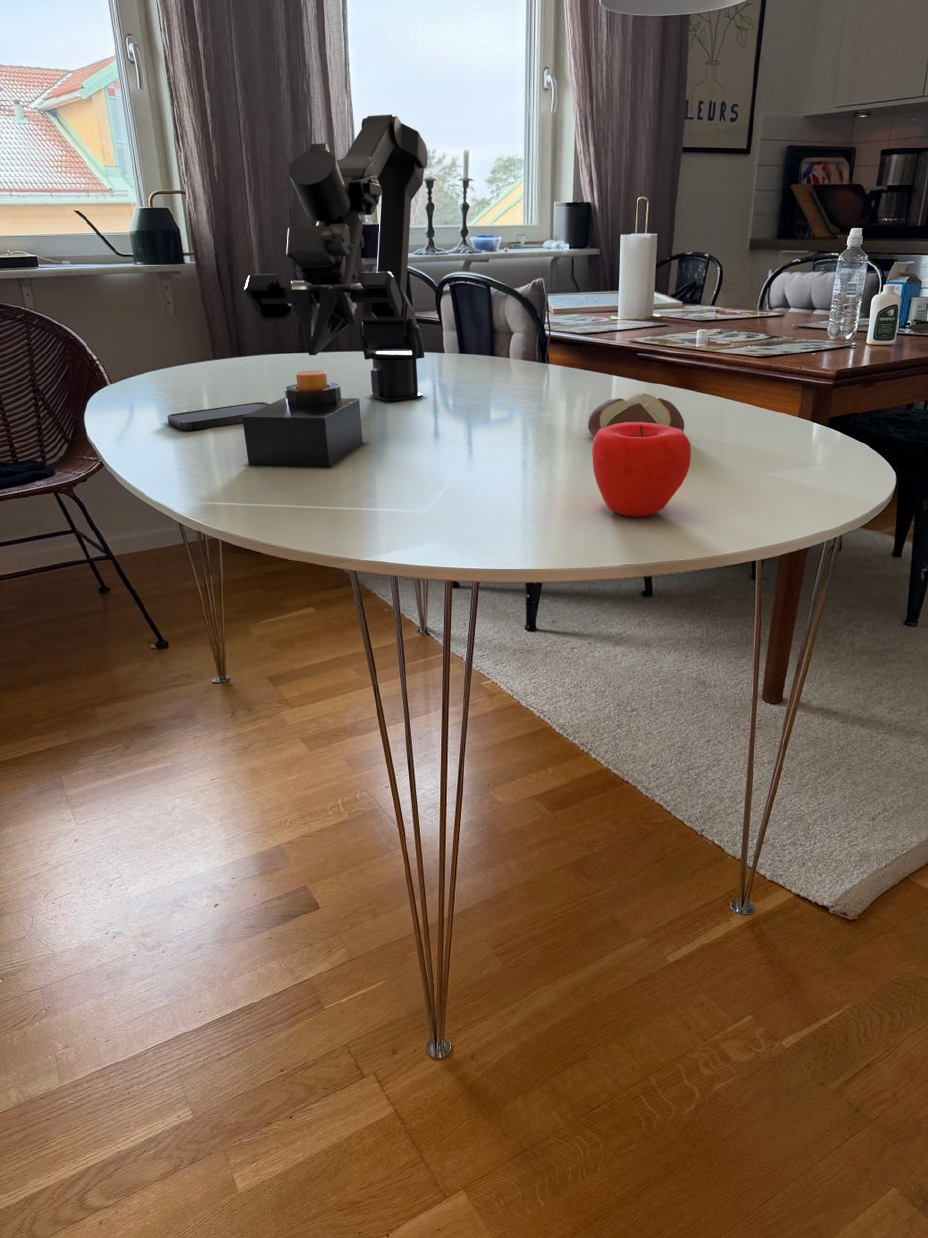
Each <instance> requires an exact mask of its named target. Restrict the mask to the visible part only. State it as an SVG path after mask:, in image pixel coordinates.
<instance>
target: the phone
mask: <svg viewBox="0 0 928 1238" xmlns="http://www.w3.org/2000/svg"><path fill="white" fill-rule="evenodd" d="M269 404H270V403H268V402H266V401H257V402H256V401H255V402H249V403H248V402H247V403H242V404H233V405H228V406H220V407H213V408H205V409H198V410H190V411H185V412H184V411H183V412H176V413H171V414H168V415H167V416H166V417H167V423H168V425H171V426H172V427H175V428H177V429H179V430H181V431H194V430H199V429H207V428H214V427H220V426H221V427H222V426H227V425H233V424H241V423H243V419H242V417H243V416H245V415H247V414H250V413H252V412H254V411H256V410H258V409H261V408H263V407H265V406H267V405H269Z"/></svg>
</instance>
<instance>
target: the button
mask: <svg viewBox="0 0 928 1238" xmlns="http://www.w3.org/2000/svg"><path fill="white" fill-rule="evenodd" d="M295 378H296V384H297V388H298V389H300V390H313V389H323V388H327V382H328V379H327V378H328V377H327V371H324V370H305V371H299V372H296V373H295Z"/></svg>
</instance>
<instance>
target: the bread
mask: <svg viewBox="0 0 928 1238" xmlns="http://www.w3.org/2000/svg"><path fill="white" fill-rule="evenodd" d="M625 422H646V423H656V424H661V425H667V426H670V427H674V428H677V429H681V430H682V431H683V432H684V431H685V421H684V418H683V416H682V414H681V412H680V411H679V409H678V408H677V407H676V406H675V405H674V403H672V402H671V401H669V400H667V399H665V398H664V399H663V398H662V397H659V398H657V397H655V395H651V394H649V393H643V392H642V393H634V394H630V395H628V396H626V397H624V398H612V399H608V400H606V401H604V402H603V403H601V404H600V405H598V406H597V407H596V408H594V410H592V412H591V413H590V415H589V418H588V422H587V429H588V431H589V433H590V435H592V436H594V437H595V436H596V434H597V432H598V431H599V429H602V428H605V427H608V426H611V425H614V424H618V423H625Z"/></svg>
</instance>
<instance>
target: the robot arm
mask: <svg viewBox="0 0 928 1238" xmlns="http://www.w3.org/2000/svg"><path fill="white" fill-rule="evenodd" d="M428 162H429V161H428V149H427V144H426V142H425V140H424V139H423V137H422V135H421V134H420V132H419V131H418V130H416V129H415V128H412V127H410V126H408V125H406V124H404V123H403V122H402V121H401V120H400V118H399V116H397V115H396V116H395V115H394V114H379V115H378V114H376V115H367V117H364V118H362V121H361V129H360V130H359V132H358V134H357V136H356V137H355V139H354V140H353V143H351V146H350V148H349V149H348V150H347V152H346V154H345V156H343V157H342V158H340V159H336V157H335V156H334V154H333V153H331V151H330V149H329V146H328V144H327V143H326V142H324V143H323V142H322V143H311V144H310V147H309V150H306V151H305V152H302V153H301V154H299V155H298V156H297V157H295V158H294V160H293V161H292V162H290V163H289V166H288V175H289V178H290V180H291V183H292V185H293V187H294V189H295V193H296V194H297V197H298V199H299V202H300V203H301V206H302V208H303V210H304V213H305V215H306V217H307V219H309V220H313V221H315V222H316V225H293V226H292V225H291V226H289V227H288V228H287V238H286V239H287V241H286V257H287V258H288V259H290V260H292V262H294V263H295V264H296V267H295V270H294V272H295V276H297V280H290V285H291V286H286V285H285V282H284V281H283V278H282V277H281V275H280V273H267V274H266V273H264V274H263V273H262V274H261V273H259V274H250V275H248V277H247V279H246V282H245V286H244V290H243V291H244V293H245V294H246V296H247V298H248V300H249V302H250V303H251V305H252V306H253V308H254V310H255V312H256V313H257V315H258V317H259V318H260V319H261V320H263V321H265V322H285V321H287V320H288V319H289V318H291V317H292V315H293V311H294V314H295V315H296V317H297V319H298V321H299V323H300V324H301V325H302V328H303V334H304V340H305V346H306V347H305V348H306V351H307V353H308V356H317V355H318V354H319V353H320V352H321V351H322V350H323V349H324V348H325V347H326V346H327V345H328V344H329V343H330V342H331V341H332V340H333V338H335V337H336V336H337V335H338V334H340V333H341V332H342V331H343V330H344V329H346V328H347V327H348V326H353V325H355V323H356V321H357V319H356V317H355V312H356V310H357V309H358V305H357V304H361V303H362V305H363V306H362V307H363V309H362V317H361V320H360V321H359V322H360V323H359V336H360V341H361V346H362V352H363V356H364V360H366V361H367V360H372V368H370V380H371V382H370V383H371V393H370V397H371V398H374V399H378V400H380V401H384V402H388V403H389V402H397V401H404V400H411V399H419V398H423V397H424V394H423V393H421V392H419V385H418V383H419V382H418V366H417V363H418V362H417V360H418V359H419V360H420V359H424V358H425V342H424V339H423V336H422V332H421V329H420V327H419V324H418V322H417V319H416V312H415V310H414V308H413V305H412V304H411V302H410V300H409V298H408V296H407V281H408V265H409V249H410V248H409V247H410V232H411V231H410V228H411V227H410V226H411V213H412V211H411V210H412V200H413V199H414V198H415V196H416V195H417V193H418V192H419V190H420V189H421V187H422V186H423V184H424V183H423V182H424V175H425V169H426V168H427V166H428ZM379 203H380V209H379V224H378V225H379V226H378V241H377V242H378V245H377V263H376V271H363V272H359V271H358V270H357V267H356V263H357V258H358V252H359V249H362V248H365V240H364V236H363V229H364V223H363V220H362V218H361V217H360V216H372V215H373V214H374V213H375V211H376V208H377V206H379ZM358 272H359V276H358ZM357 278H358V282H357V283H353V282H352V280H357ZM298 279H299V280H298ZM300 279H301V280H300Z"/></svg>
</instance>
